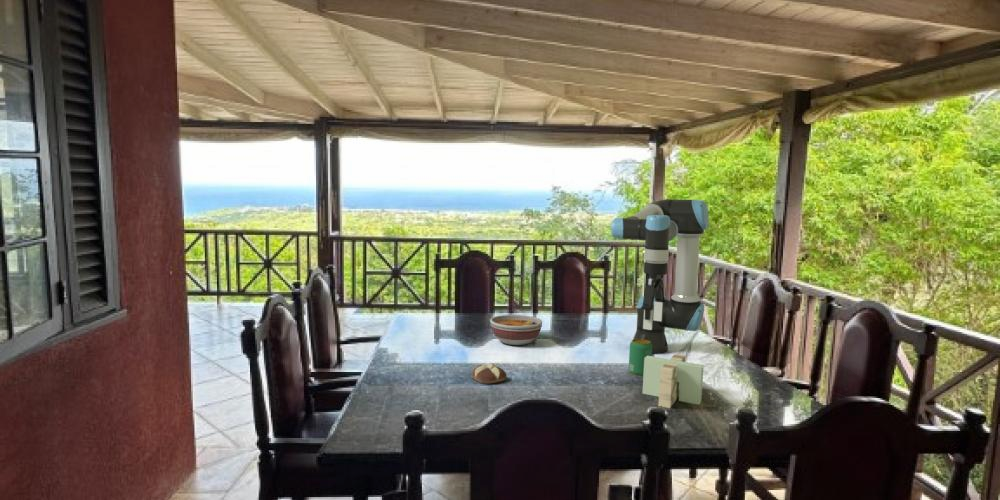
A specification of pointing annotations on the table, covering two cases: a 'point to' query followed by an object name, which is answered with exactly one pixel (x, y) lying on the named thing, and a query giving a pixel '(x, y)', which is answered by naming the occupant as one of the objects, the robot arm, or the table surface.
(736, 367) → the table surface
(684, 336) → the table surface
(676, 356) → the wooden block structure
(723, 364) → the table surface
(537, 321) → the bowl
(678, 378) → the pale green rectangular block
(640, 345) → the beverage can
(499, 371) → the bread
